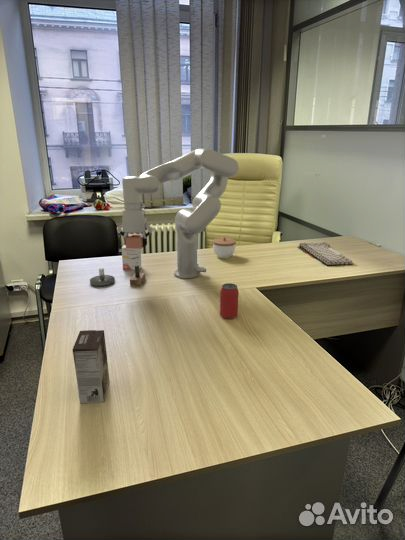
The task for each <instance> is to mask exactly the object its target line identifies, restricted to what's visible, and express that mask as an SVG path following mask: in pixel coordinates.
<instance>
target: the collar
mask: <svg viewBox="0 0 405 540" xmlns="http://www.w3.org/2000/svg"><path fill="white" fill-rule="evenodd" d="M125 241H126V248H135V249H141V250H142V249H143V248H144V247H143V236H142V234H141V233H129V234H128V236H127V237H126V238H125Z"/></svg>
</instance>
